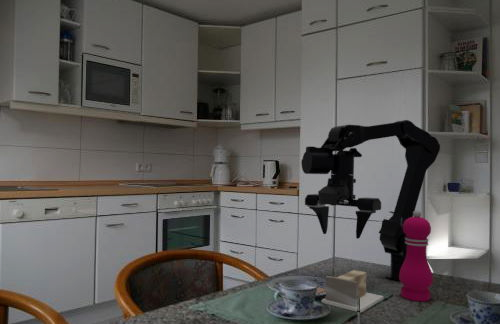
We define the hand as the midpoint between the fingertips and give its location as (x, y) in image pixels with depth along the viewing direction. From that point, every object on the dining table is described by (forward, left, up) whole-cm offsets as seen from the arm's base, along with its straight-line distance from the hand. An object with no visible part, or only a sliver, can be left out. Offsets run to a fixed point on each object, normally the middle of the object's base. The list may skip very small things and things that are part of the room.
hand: (340, 236), depth 105 cm
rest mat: (+10, +9, -12) cm, 18 cm away
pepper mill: (-2, +18, -12) cm, 22 cm away
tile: (+11, -1, -12) cm, 16 cm away
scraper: (+10, +8, -11) cm, 17 cm away
